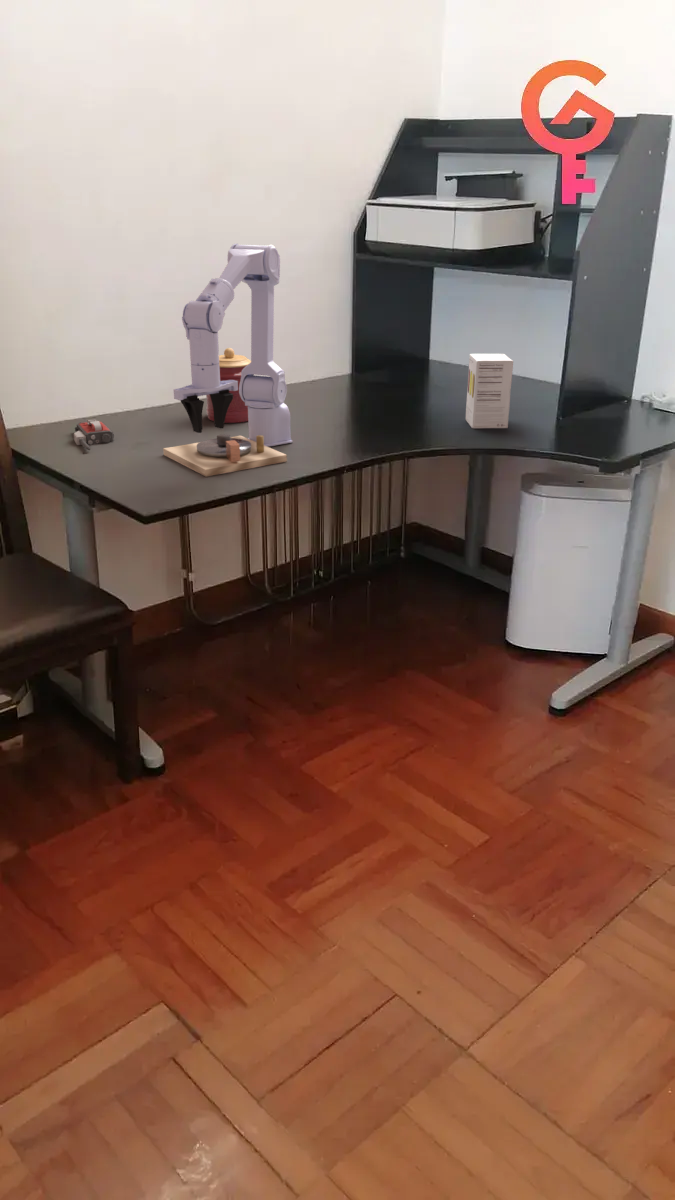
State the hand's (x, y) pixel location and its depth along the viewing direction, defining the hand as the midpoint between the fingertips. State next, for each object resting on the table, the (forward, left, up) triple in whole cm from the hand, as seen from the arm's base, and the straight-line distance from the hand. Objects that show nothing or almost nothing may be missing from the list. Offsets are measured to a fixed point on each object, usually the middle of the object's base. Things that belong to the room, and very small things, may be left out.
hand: (208, 429), depth 196 cm
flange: (-8, -7, -7) cm, 13 cm away
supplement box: (-78, +1, -10) cm, 79 cm away
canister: (-28, -41, -10) cm, 50 cm away
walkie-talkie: (+10, -39, -10) cm, 41 cm away
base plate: (-8, -9, -9) cm, 15 cm away
